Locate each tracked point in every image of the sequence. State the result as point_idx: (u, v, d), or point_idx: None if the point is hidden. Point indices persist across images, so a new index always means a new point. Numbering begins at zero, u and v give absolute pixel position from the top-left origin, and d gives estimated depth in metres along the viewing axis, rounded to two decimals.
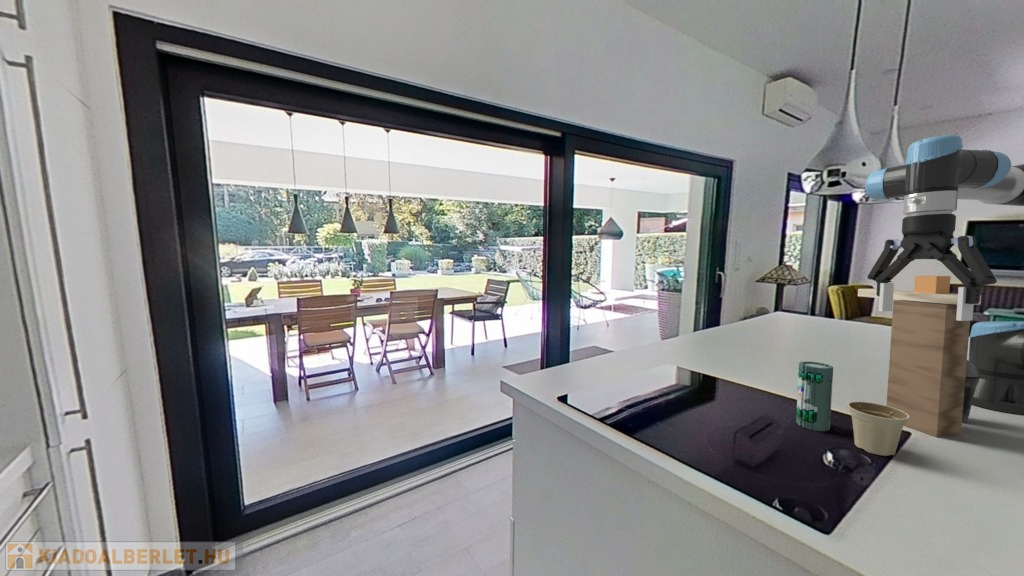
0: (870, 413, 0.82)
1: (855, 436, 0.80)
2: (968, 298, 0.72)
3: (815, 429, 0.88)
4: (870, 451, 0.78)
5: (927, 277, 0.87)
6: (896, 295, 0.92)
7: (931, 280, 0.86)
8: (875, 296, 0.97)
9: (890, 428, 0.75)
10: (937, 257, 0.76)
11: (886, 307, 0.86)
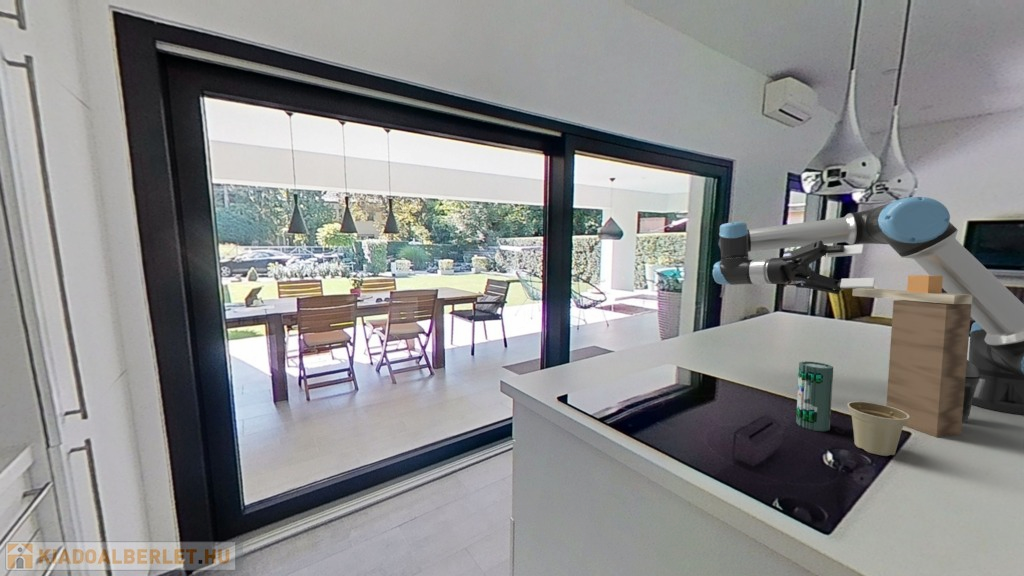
0: (870, 413, 0.82)
1: (855, 436, 0.80)
2: None
3: (815, 429, 0.88)
4: (870, 451, 0.78)
5: (919, 277, 0.88)
6: (889, 294, 0.94)
7: (924, 279, 0.87)
8: (869, 296, 0.98)
9: (890, 428, 0.75)
10: None
11: None
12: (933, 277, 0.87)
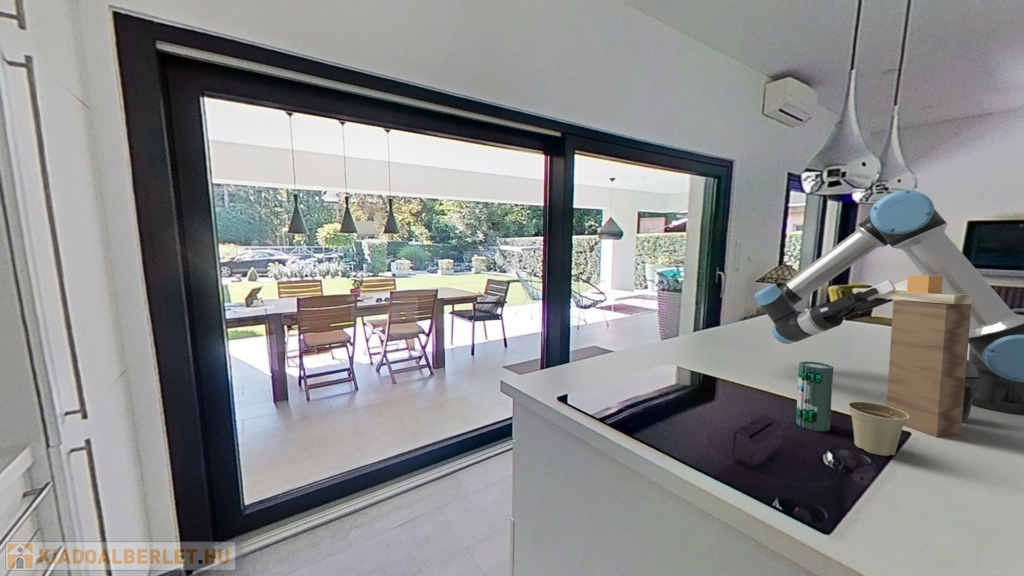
0: (870, 413, 0.82)
1: (855, 436, 0.80)
2: None
3: (815, 429, 0.88)
4: (870, 451, 0.78)
5: (919, 277, 0.88)
6: (889, 294, 0.94)
7: (924, 279, 0.87)
8: None
9: (890, 428, 0.75)
10: None
11: None
12: (933, 277, 0.87)
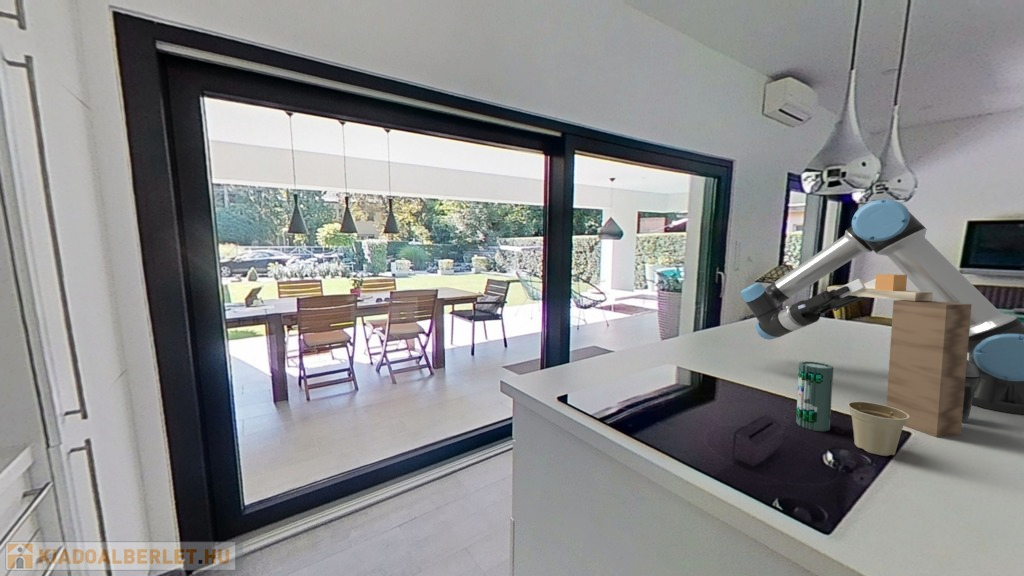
0: (870, 413, 0.82)
1: (855, 436, 0.80)
2: None
3: (815, 429, 0.88)
4: (870, 451, 0.78)
5: (885, 276, 0.95)
6: (859, 292, 1.01)
7: (889, 278, 0.94)
8: None
9: (890, 428, 0.75)
10: None
11: None
12: (898, 276, 0.94)
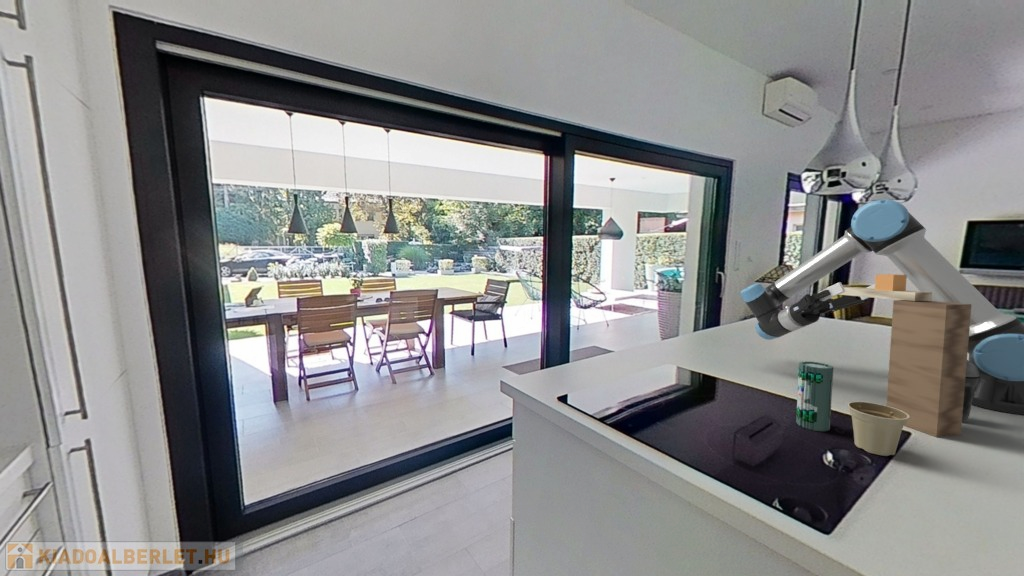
0: (870, 413, 0.82)
1: (855, 436, 0.80)
2: None
3: (815, 429, 0.88)
4: (870, 451, 0.78)
5: (885, 276, 0.95)
6: (859, 292, 1.01)
7: (889, 278, 0.94)
8: (842, 293, 1.05)
9: (890, 428, 0.75)
10: None
11: None
12: (897, 276, 0.94)
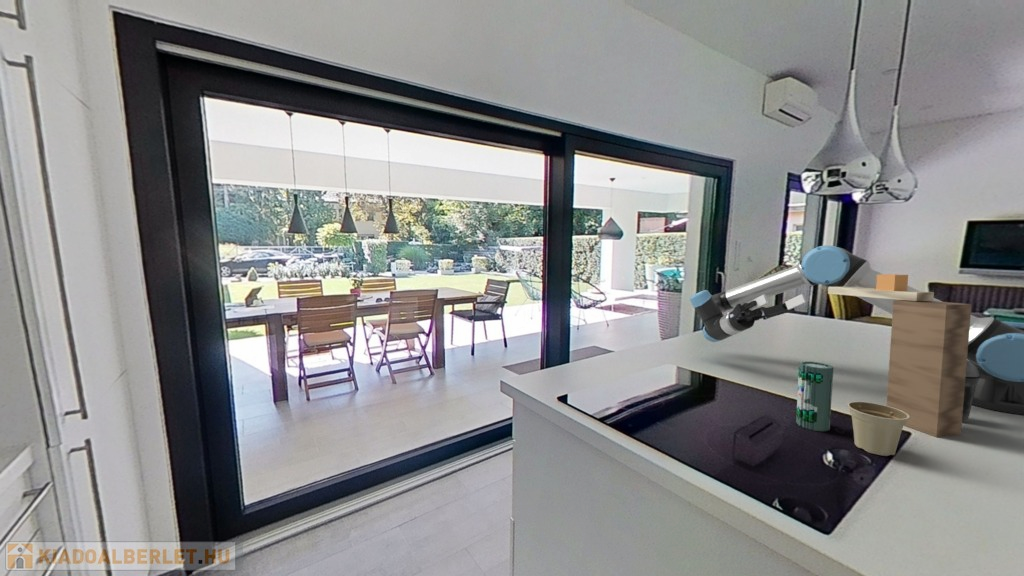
0: (870, 413, 0.82)
1: (855, 436, 0.80)
2: None
3: (815, 429, 0.88)
4: (870, 451, 0.78)
5: (887, 276, 0.95)
6: (860, 292, 1.00)
7: (891, 278, 0.94)
8: (843, 293, 1.05)
9: (890, 428, 0.75)
10: None
11: None
12: (899, 276, 0.93)
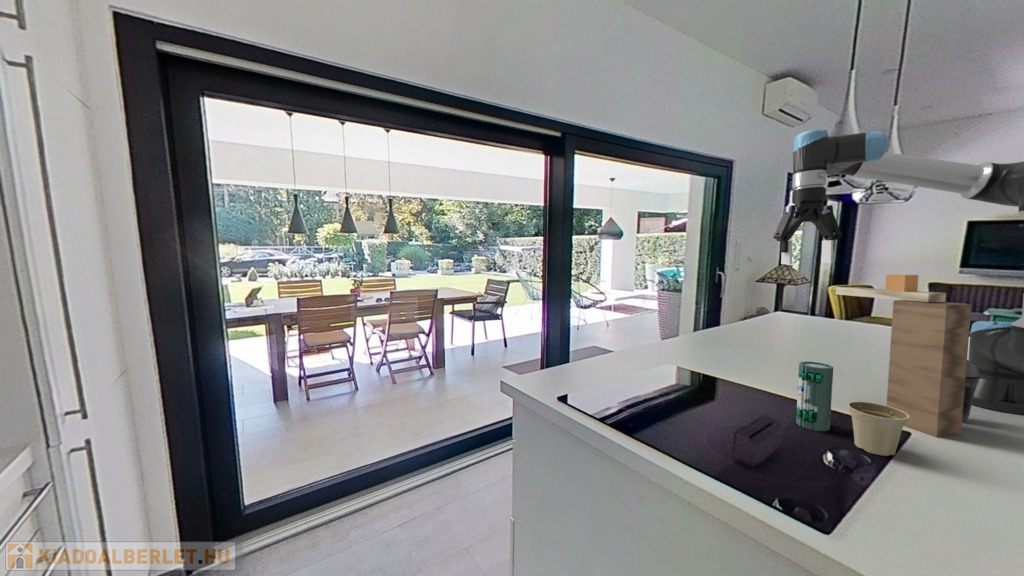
0: (870, 413, 0.82)
1: (855, 436, 0.80)
2: None
3: (815, 429, 0.88)
4: (870, 451, 0.78)
5: (896, 276, 0.93)
6: (869, 293, 0.98)
7: (901, 278, 0.92)
8: (851, 294, 1.03)
9: (890, 428, 0.75)
10: (823, 219, 1.05)
11: None
12: (909, 276, 0.91)
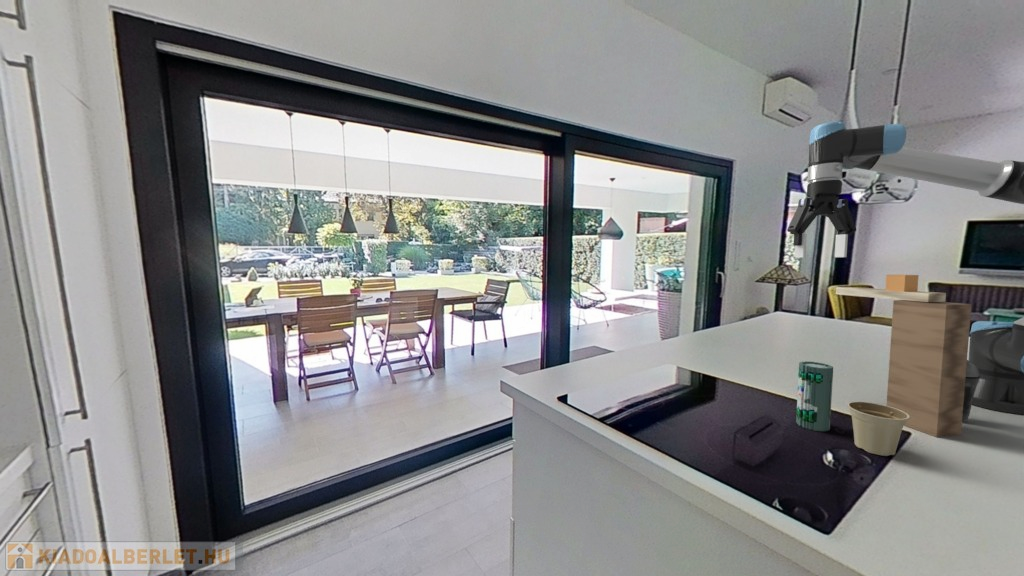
0: (870, 413, 0.82)
1: (855, 436, 0.80)
2: None
3: (815, 429, 0.88)
4: (870, 451, 0.78)
5: (896, 276, 0.93)
6: (869, 293, 0.98)
7: (901, 278, 0.92)
8: (851, 294, 1.03)
9: (890, 428, 0.75)
10: (837, 213, 1.05)
11: None
12: (909, 276, 0.91)
